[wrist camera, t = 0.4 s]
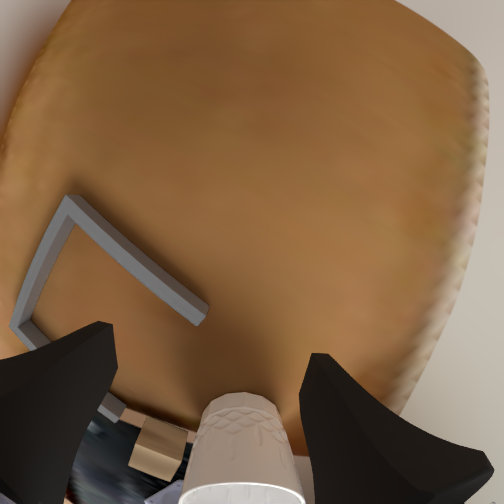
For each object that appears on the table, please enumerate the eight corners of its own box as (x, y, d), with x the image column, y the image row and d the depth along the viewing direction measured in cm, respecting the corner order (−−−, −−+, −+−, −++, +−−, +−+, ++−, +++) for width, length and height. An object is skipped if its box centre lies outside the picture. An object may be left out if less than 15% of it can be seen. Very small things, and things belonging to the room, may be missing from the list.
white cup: (223, 370, 21) (212, 466, 11) (304, 406, 22) (331, 495, 12) (181, 427, 22) (160, 513, 12) (256, 456, 23) (261, 538, 13)
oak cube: (176, 453, 23) (169, 481, 19) (139, 438, 22) (128, 465, 18) (188, 431, 22) (181, 461, 18) (147, 415, 22) (135, 443, 18)
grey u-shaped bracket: (122, 410, 22) (115, 423, 20) (21, 319, 20) (8, 326, 18) (209, 306, 20) (206, 316, 18) (79, 195, 19) (65, 194, 17)
